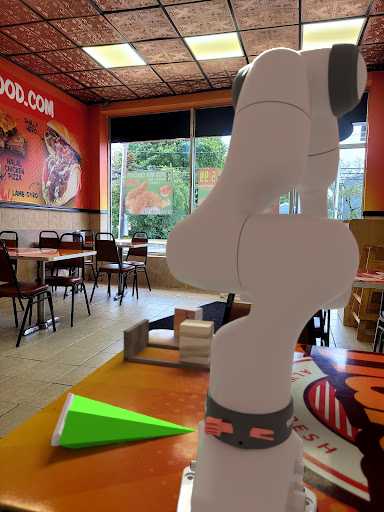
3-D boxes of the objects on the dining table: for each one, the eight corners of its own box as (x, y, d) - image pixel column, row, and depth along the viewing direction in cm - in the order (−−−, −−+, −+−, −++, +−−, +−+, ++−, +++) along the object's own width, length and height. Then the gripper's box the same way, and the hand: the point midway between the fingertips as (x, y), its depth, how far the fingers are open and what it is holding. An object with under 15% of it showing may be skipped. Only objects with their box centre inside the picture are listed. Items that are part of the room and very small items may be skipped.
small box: (173, 339, 119) (173, 307, 118) (181, 334, 124) (181, 304, 123) (194, 343, 115) (195, 310, 114) (202, 338, 120) (202, 307, 119)
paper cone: (194, 422, 72) (68, 408, 69) (200, 401, 70) (70, 386, 67) (198, 474, 61) (49, 460, 58) (204, 451, 60) (51, 436, 57)
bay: (210, 375, 90) (210, 340, 89) (123, 364, 97) (123, 331, 96) (221, 356, 103) (221, 326, 103) (144, 347, 110) (144, 318, 109)
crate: (208, 364, 94) (208, 327, 93) (179, 361, 96) (179, 324, 95) (213, 356, 100) (214, 321, 99) (185, 353, 102) (186, 319, 101)
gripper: (283, 271, 100) (234, 269, 104) (280, 282, 80) (219, 279, 84) (282, 294, 101) (233, 291, 104) (279, 310, 81) (219, 305, 85)
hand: (227, 285), depth 94 cm, fingers closed
